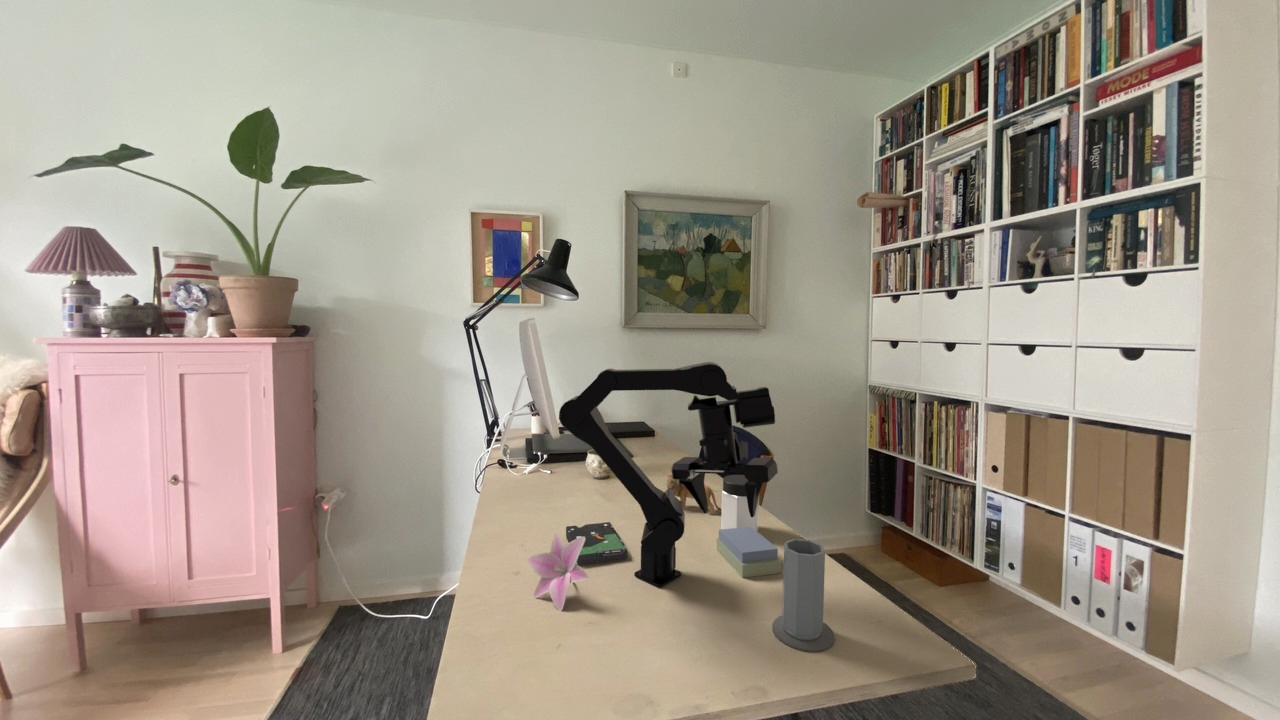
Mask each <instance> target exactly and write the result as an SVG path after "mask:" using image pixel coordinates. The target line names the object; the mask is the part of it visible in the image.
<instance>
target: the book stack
mask: <svg viewBox="0 0 1280 720" xmlns="http://www.w3.org/2000/svg"><path fill="white" fill-rule="evenodd" d="M716 551H717V552H718V553H719V554H720V555H721V557H722V558H724V560H725V561H726V562H727V563H728V564H729V565H730V566H731V567H732V569H734V570H735V571H736V573H737V574H738V575H739V576H740V577H741V578H742V579H743V578H750V577H759V576H768V575H774V574H781V573H782V560H781V559H780V558H779V557H778V555H779V550H778V547H776V546H775V545H774V544H773V543H771V541H769V540H768V539H767V538H766V537H764V536H763V535H762V534H761V533H759V532H758V531H756V530H755V529H753V528H752V527H742V528H731V529H721V528H720V529H718V538H716Z"/></svg>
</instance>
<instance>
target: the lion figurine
mask: <svg viewBox="0 0 1280 720" xmlns="http://www.w3.org/2000/svg"><path fill="white" fill-rule="evenodd" d="M679 480H680V479H673V478H672V472H670V473H669V474H668V475H666V483H665V485H666V487H667V489H668V488H670V489H671V490H672V492H673V493H674V495H675V497H676V498H677V497H678V498H679V500H680V501H682V502H683V509H684V510H685V508H686V501H687V498H689V499H694V497H693V496H692V495H691V493H690V492H689V491H688V490H687V488H686V487H685V486H684V485H683V484H680V483H679ZM704 486H705V491H706V497H707V503H708V509H710V511H709V510H708V514H709V515H710V516H711V515H714V514H715V508H716V510H717V511H719V512H722V508H720V507H719V506H718V504H717V501H716V500H717V499H716V497H715V494H714V491H713V490H712V489H711V487H710V486H709V485H706V484H704ZM711 497H712V498H711ZM711 499H712V501H713V503H712V501H711ZM694 500H695V499H694Z"/></svg>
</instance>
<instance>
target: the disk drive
mask: <svg viewBox="0 0 1280 720" xmlns="http://www.w3.org/2000/svg"><path fill="white" fill-rule="evenodd" d="M583 536H584V537H585V542H584V545H583V547H582V549H581V552H580V554H579V556H578V559H577V562H576V564H577V565H579V566H580V567H582V566H587V565H595V564H602V563H610V562H616V561H618V562H619V561H625V560H628V551H627V547H626V544H625V543H624V541H623V540H622V539H621V537H620V535H619V534H618V532H617V531H616V529H615V528H614V526H613V524H612V523H611V522H610V521H606V522H598V523H587V524H584V525H582V526H577V525H567V526H566V527H565V537H566V540H568V541H567V542H568V543H570V542H571V541H573V540H575V539H577V538H580V537H583Z"/></svg>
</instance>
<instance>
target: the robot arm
mask: <svg viewBox="0 0 1280 720" xmlns="http://www.w3.org/2000/svg"><path fill="white" fill-rule="evenodd" d="M724 370H725V369H723V368H722V367H721V366H720V365H719V364H718V363H715V362H711V361H705V362H700V363H695V364H691V365H686V366H682V367H677V368H651V369H650V368H648V369H646V368H645V369H643V368H642V369H637V368H635V369H614V368H606V369H605V370H602V371H601V372H599V374H598V375H597V377H596V378H595V379H594V380H593V381H592V382H591V383H590V384H589V385H588V386H587V387H586V388H585V389H584V390H583V391H582V392H581V393H580V394H579V395H576V396H574V397H572V398H571V399H569V400H567V401H565V402H564V403H563V404H562V405H561V407H560V409H559V413H558V420H559V422H560V424H561V425H562V427H563V428H564V429H565V430H567V431H568V432H569V433H570V434H572V435H573V436H574V438H577V439H578V440H580V441H582V442H583V443H584V444H586V445H588V446H590V448H591V449H592V450H593V451H594V452H595V453H596V455H598V457H599V458H600V459H601V461H602V462H603V463H604V464H605V465H606V466H607V468H608V469H609V470H610V471H611V472H612V473H613V474H614V476H615V477H616V478H617V479H618V481H619V482H620V483H621V484H622V485H623V487H624V488H625V489H626V491H628V492H629V494H630V495H631V496H632V497H633V499H634V500H635V501H636V502H637V503H638V505H639V506H640V508H641V511H642V514H643V516H644V518H645V523H644V526H643V531H642V536H641V539H640V544H641V545H640V569H639V570H637V571H635V572H634V576H635V577H637V578H638V579H641V580H643V581H645V582H647V583H648V584H651V585H653V586H656V587H658V588H661V587H663V586H665V585H667V584H668V583H670V582H672V581H674V580H676V579H677V578H680V576H682V571H680V570H678V569H676V564H677V563H676V562H677V561H676V558H677V556H676V555H677V548H676V542H678V541H679V540H680V539H681V538H682V537H683V536H684V533H685V527H686V526H685V521H686V519H685V517H686V514H685V513H686V512H685V508H684V509H683V502H682V501H681V500H680V499H679V498H677V496H675V495H674V493H673V492H672V490H671V489H670V488H667V489H666V490H665V491H663V490H662V489H660V488H658V487H656V486H655V485H654V483H653V482H652V481H651V479H650V478H649V477H648V476H647V475H646V474H645V473H644V471H643V470H642V469H641V468H640V466H638V464H637V463H636V462H635V461H634V459H633V458H632V457H631V456H630V455H629V454H628V452H627V451H626V450H625V449H624V447H622V445H621V444H620V443H619V442H618V440H617V439H616V438H615V437H614V436H613V434H612V433H611V432H610V431H609V429H608V428H607V425H606V422H605V420H604V418H603V415H602V414H601V412H600V410H599V408H598V407H599V406H600V404H602V402H603V401H604V400H605V399H607V397H608V396H609V395H610V394H611V393H612V392H614V391H618V392H619V391H678V392H684V393H687V394H693V398H692V399H691V401H690V402H689V403H688V404H687V410H688V411H698V417H699V424H700V430H701V439H699V440H698V441H699V446H700V447H703V451H704V452H703V454H704V459H705V460H702V458H701V456H683V457H682V458H680V459H678V460H677V461H675V462H674V463H673V464H672V466H671V468H670V469H671V472H670V473H672V478H673V479H680V480H679V483H680V484H683V485H684V486H685V487H686V488H687V490H688V491H689V492H690V493H691V495H692V496H693V497H694V501H695V502H696V504H697V505H698V507H699V508H700V509H701V511H702V513H703V514H705V515H706V514H707V513H709V507H708V503H707V497H706V491H705V486H704V485H705V476H706V474H714V475H715V474H716V475H717V474H719V475H722V474H723V475H745V478H746V479H747V480H748V481H747V482H746V483H745V490H746V496H747V502H748V509H749V513H750V516H751V517H754V516H755V512H756V507H757V502H758V497H759V498H760V493H761V489H762V487H763V486H764V485H765V484H766V483H768V482H770V481H771V480H772V479H773V478H774V477H775V476H776V475H777V474H778V473H779V472H778V470H779V469H778V465H777V462H776V461H775V459H774V458H773V457H753V458H752V459H750V461H748V462H747V463H745V462H744V463H739V462H742V460H748V459H749V446H748V445H749V443H748V441H744V440H739V439H738V434H737V432H734V427H733V426H734V425H733V418H732V412H731V406H732V409H733V415H734V421H735V424H740V425H741V427H742V428H744V429H745V428H753V427H762V426H769V425H770V426H771V425H774V424H776V414H775V408H774V406H773V403H772V402H773V401H772V397H771V395H770V389H769V388H768V387H766V386H760V387H757V388H754V389H753V388H752V389H747V390H739V391H737V388H736V387H735V385H731V383H729V382H728V379H727V374H726V372H725V371H724ZM698 396H705V397H704V398H699V397H698ZM716 396H719V397H721V398H723V399H724V400H718V401H717V397H716Z"/></svg>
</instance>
